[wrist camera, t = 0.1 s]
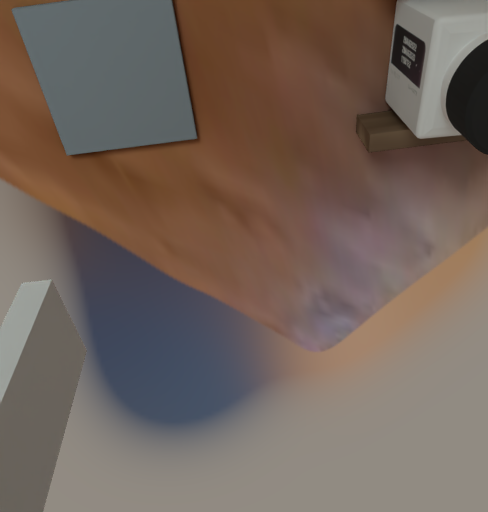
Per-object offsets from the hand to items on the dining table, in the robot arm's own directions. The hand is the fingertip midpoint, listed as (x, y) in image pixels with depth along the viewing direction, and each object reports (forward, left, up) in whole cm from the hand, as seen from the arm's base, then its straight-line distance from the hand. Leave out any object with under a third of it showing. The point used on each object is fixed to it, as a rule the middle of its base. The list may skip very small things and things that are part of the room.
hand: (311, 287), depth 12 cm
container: (+3, +15, -28) cm, 32 cm away
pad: (+2, -10, -28) cm, 30 cm away
